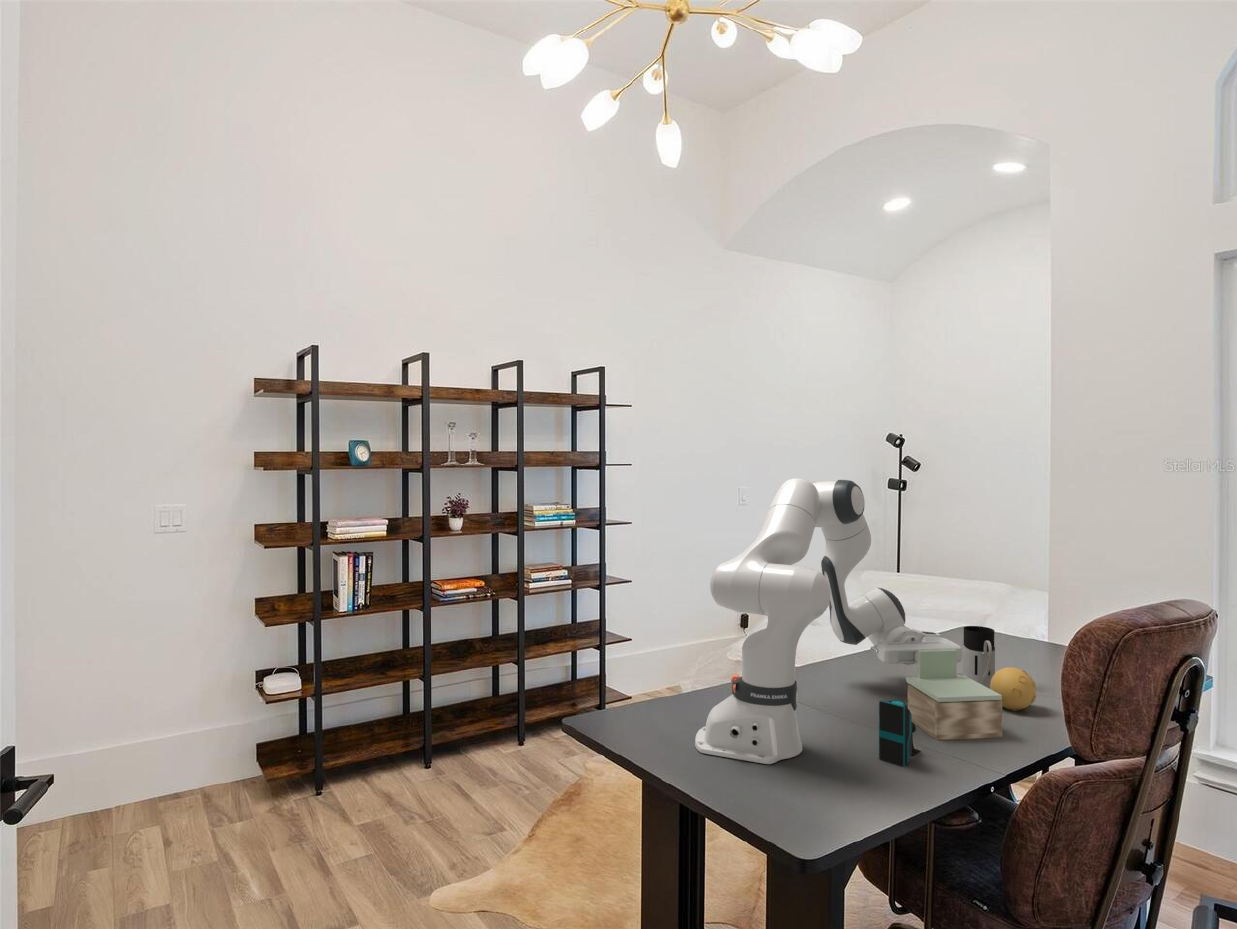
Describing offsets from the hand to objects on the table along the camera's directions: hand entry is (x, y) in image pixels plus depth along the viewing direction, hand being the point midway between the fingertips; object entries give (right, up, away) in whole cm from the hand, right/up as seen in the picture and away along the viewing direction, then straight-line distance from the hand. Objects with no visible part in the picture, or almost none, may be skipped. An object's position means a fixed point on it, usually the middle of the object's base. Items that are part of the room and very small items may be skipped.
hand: (935, 661), depth 174 cm
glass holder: (+21, -13, +21) cm, 33 cm away
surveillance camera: (-17, -13, -23) cm, 32 cm away
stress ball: (+21, -13, +5) cm, 25 cm away
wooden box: (+1, -13, -7) cm, 15 cm away
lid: (+1, -5, -7) cm, 8 cm away
